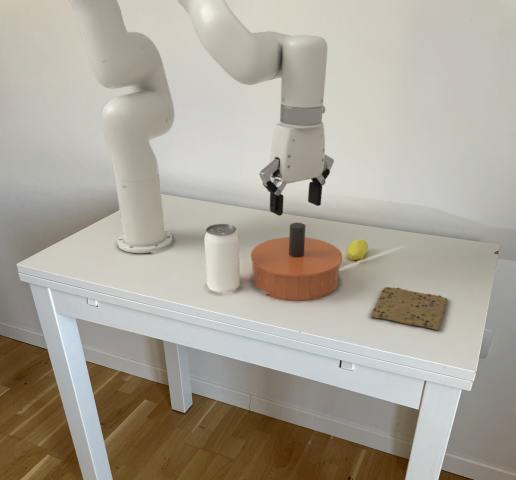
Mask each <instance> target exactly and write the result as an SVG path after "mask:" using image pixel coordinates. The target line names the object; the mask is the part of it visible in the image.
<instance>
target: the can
mask: <svg viewBox="0 0 516 480" xmlns="http://www.w3.org/2000/svg"><path fill="white" fill-rule="evenodd" d="M205 231H206V233H205V235H204V239H203V241H204V256H205V259H204V260H205V273H206V274H205V275H206V286H207V288H208V289H209V290H211V291H214V292H216V293H227V292H232V291H235V290H236V289H238V288H239V287H240V284H241V283H240V282H241V281H240V276H241V275H240V241H239V234H238V232H237V228H236V227H235V225H232V224H228V223H215V224H211V225H209V226H207V227H206V229H205Z"/></svg>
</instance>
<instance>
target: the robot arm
mask: <svg viewBox="0 0 516 480" xmlns="http://www.w3.org/2000/svg"><path fill="white" fill-rule="evenodd" d="M176 1H177V3H178V4H179V5H180V6H181V7H182V8H183V9H184V10H185V11H186V13H187V14H188V16H189V17H190V21H191V25H192V27H193V29H194V31H195V34H196V36H197V38H198V40H199V42H200V44H201V45H202V47H203V48H204V50H205V51H206V52H207V53H208V54H209V56H210V57H211V58H212V59H213V60H214V61H215V62H216V63H217V64H218V65H219V66H220V68H221V69H222V70H224V72H225V73H226V74H227V75H229V77H231V78H232V79H233V80H235V81H236V82H238V83H239V84H242V85H245V86H253V85H258V84H260V83H263V82H269V81H271V80H272V81H273V80H275V79H281V85H280V106H279V107H280V109H279V111H280V112H279V122H278V123H276V124H275V127H274V131H273V136H272V140H271V141H272V142H271V147H270V148H271V149H270V157H269V163H268V164H267V165H266V166H265V167H263V168H262V169H261V170H260V171H259V173H258V174H259V177H260V180H261V182H262V186H263V187H264V188H265V189H266V190H267V192H269V211H270V213H272V214H273V215H274V214H275V215H276V216H278V217H281V216H283V215H284V214H283V213H284V194H282V193H283V191H284V190H285V188H286V186H287V184H293V183H298V182H302V181H307V180H311V181H309V184H308V194H307V202H308V203H310V204H312V205H314V206H316V207H319V206H321V205H322V193H323V186H324V185H325V184H326V179H327V178H328V177H329V175H330V173H331V171H330V170H331V169H332V167H333V165H334V162H335V160H334V159H333V158H332V157H330V156H328V155H327V154H325V152H326V151H325V150H326V141H325V140H326V139H325V138H326V136H325V127H324V122H323V114H325V113H326V107H325V106H324V99H325V87H326V86H325V85H326V73H327V61H328V42H327V41H326V39H325V38H324V37H322V36H318V35H305V34H303V35H302V34H298V35H297V34H296V35H289V34H287V33H286V34H285V33H281V32H277V31H270V30H269V31H259V32H252V31H250V29H248V28H247V27H246V26H245V25H244V24H243V23H242V22H241V20H240V19H239V18H238V17H237V16H236V15H235V13H234V12H233V11H232V9H231V8H230V7H229V5H228V4H227V2H226V0H176ZM69 2H70V5H71V7H72V10H73V13H74V16H75V19H76V22H77V27H78V29H79V33H80V36H81V39H82V42H83V43H82V44H83V46H84V49H85V51H86V52H85V53H86V55H87V58H88V62H89V65H90V68H91V71H92V73H93V75H94V77H95V79H96V81H97V82H98V84H100V86H102V87H104V88H106V89H110V90H111V89H113V90H115V89H122V88H127V87H128V88H129V90H130V93H127V94H123V95H119V96H116V97H114V98H112V99H111V100H110V101H108V102H106V105H105V106H103V107H104V108H103V109H102V112H101V116H100V122H101V128H102V132H103V135H104V138H105V141H106V143H107V147H108V150H109V155H110V159H111V164H112V169H113V177H114V181H115V189H116V197H117V203H118V210H119V217H120V225H121V229H122V234H121V235H120V236H119V237H117V240H116V243H117V248H119V249H120V250H121V251H123V252H127V253H132V254H149V253H151V252H153V251H159V250H162V249H164V248H166V247H168V246H170V245H171V244H172V242H173V236H172V234H171V233H170V232H169V231H166V228H165V219H164V218H165V217H164V209H163V200H162V199H163V198H162V190H161V180H160V172H159V171H160V170H159V165H158V164H159V163H158V160H157V157H156V154H155V152H154V150H153V148H152V146H151V143H150V141H151V140H153V139H156V138H158V137H161V136H164V135H166V134H167V133H168V132H169V131H170V130H171V129H172V128H173V125H174V122H175V108H174V102H173V98H172V94H171V90H170V86H169V82H168V79H167V75H166V71H165V67H164V63H163V60H162V56H161V54H160V52H159V49H158V48H157V46H156V44H155V43H154V41H153V40H152V39H151V38H150V37H148V36H147V35H146V34H144V33H143V32H142V33H141V32H138V31H128V30H127V28H126V25H125V21H124V19H123V14H122V11H121V10H122V9H121V8H120V4H119V2H118V0H69Z"/></svg>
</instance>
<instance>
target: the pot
mask: <svg viewBox="0 0 516 480" xmlns="http://www.w3.org/2000/svg"><path fill="white" fill-rule="evenodd" d="M339 275H340V265H339V266H338V267H337V268H336V269H334V270H332V271H330V272H328V273H325V274H321V275H316V276H308V277H290V276H282V275H277V274H273V273H269V272H267V271H264V270H262V269H260V268H258V267H257V266H256V265H255V264H254V263H253V262H252V261H251V276H252V277H251V279H252V282H253V284H254V285H255V286H256V288H257V289H259V290H261V291H262V292H264V293H266V294H265V295H266V296H268V297H270V298H274V299H278V300H283V301H293V302H295V301H297V302H303V301H312V300H317V299H321V298H323V297H326V296H328V295H330V294H331V293H333V292H334V291H335V290H336V289H337V287H338V284H339Z"/></svg>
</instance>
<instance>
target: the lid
mask: <svg viewBox="0 0 516 480" xmlns="http://www.w3.org/2000/svg"><path fill="white" fill-rule="evenodd" d="M250 260H251V263H252V262H253V263H254V264H255V265H256V266H257V267H258V268H260V269H262V270H264V271H267V272H269V273H273V274H277V275H282V276H290V277H308V276H316V275H321V274H325V273H328V272H330V271H332V270H334V269H336V268H337V267H338V266H339V267H340V265H341V264H342V262H343V254H342V251H341V250H340V249H339V248H338V247H336V246H335V245H333V244H331V243H330V242H328V241H327V242H326V241H324V240H320V239H317V238H311V237H306V224H305V223H302V222H293V223H290V225H289V236H288V237H287V236H286V237H277V238H273V239H269V240H266V241H263V242H261V243H259V244H257V245H256V246H254V247H253V249H252V250H251V253H250Z"/></svg>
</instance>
